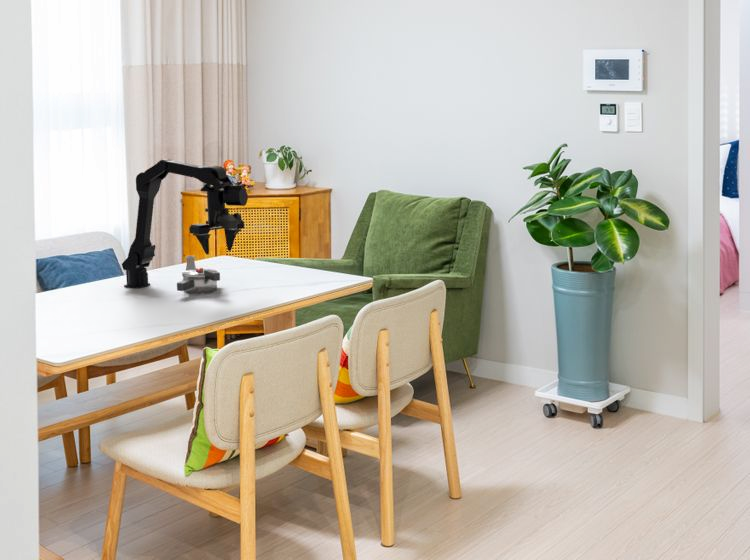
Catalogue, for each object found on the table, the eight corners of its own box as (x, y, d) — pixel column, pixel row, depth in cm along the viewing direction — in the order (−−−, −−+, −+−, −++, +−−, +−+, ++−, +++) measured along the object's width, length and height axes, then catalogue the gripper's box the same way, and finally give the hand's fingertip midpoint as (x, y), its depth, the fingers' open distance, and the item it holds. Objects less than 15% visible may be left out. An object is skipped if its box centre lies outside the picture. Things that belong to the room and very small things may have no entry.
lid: (176, 274, 319) (175, 267, 319) (207, 270, 326) (206, 263, 326) (201, 282, 306) (200, 275, 305) (232, 278, 313) (232, 271, 312)
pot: (200, 284, 329) (199, 270, 328) (227, 287, 325) (227, 272, 324) (165, 296, 311) (165, 281, 310) (194, 299, 306) (194, 283, 305)
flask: (197, 287, 325) (196, 258, 323) (177, 286, 326) (176, 257, 324) (205, 283, 331) (204, 255, 330) (185, 282, 333) (184, 254, 331)
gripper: (208, 209, 298) (211, 258, 301) (254, 204, 311) (256, 251, 314) (187, 207, 305) (189, 255, 308) (232, 202, 319) (234, 248, 322)
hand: (218, 252), depth 313 cm, fingers open, 9 cm apart
